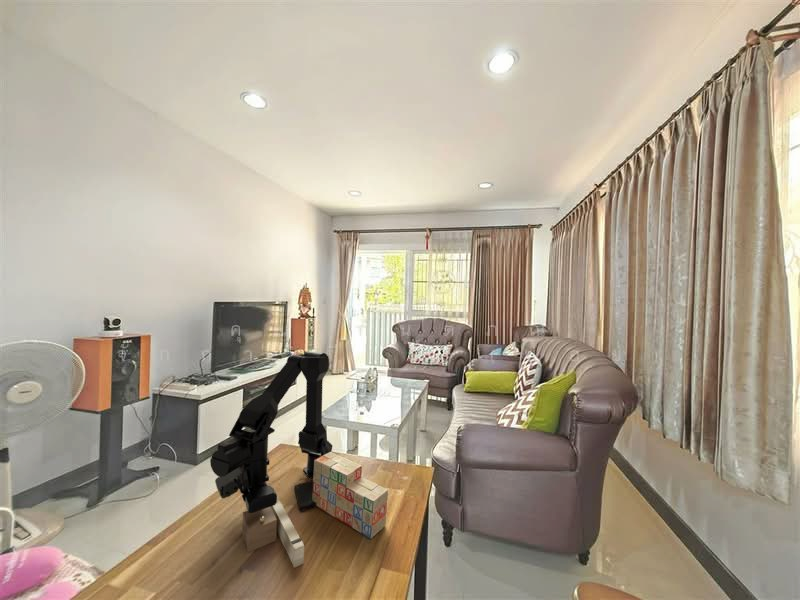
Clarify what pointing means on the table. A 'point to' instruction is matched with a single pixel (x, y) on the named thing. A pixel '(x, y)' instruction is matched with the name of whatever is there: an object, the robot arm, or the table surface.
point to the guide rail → (288, 535)
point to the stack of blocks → (349, 494)
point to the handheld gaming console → (304, 495)
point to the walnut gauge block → (259, 528)
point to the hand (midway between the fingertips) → (253, 516)
